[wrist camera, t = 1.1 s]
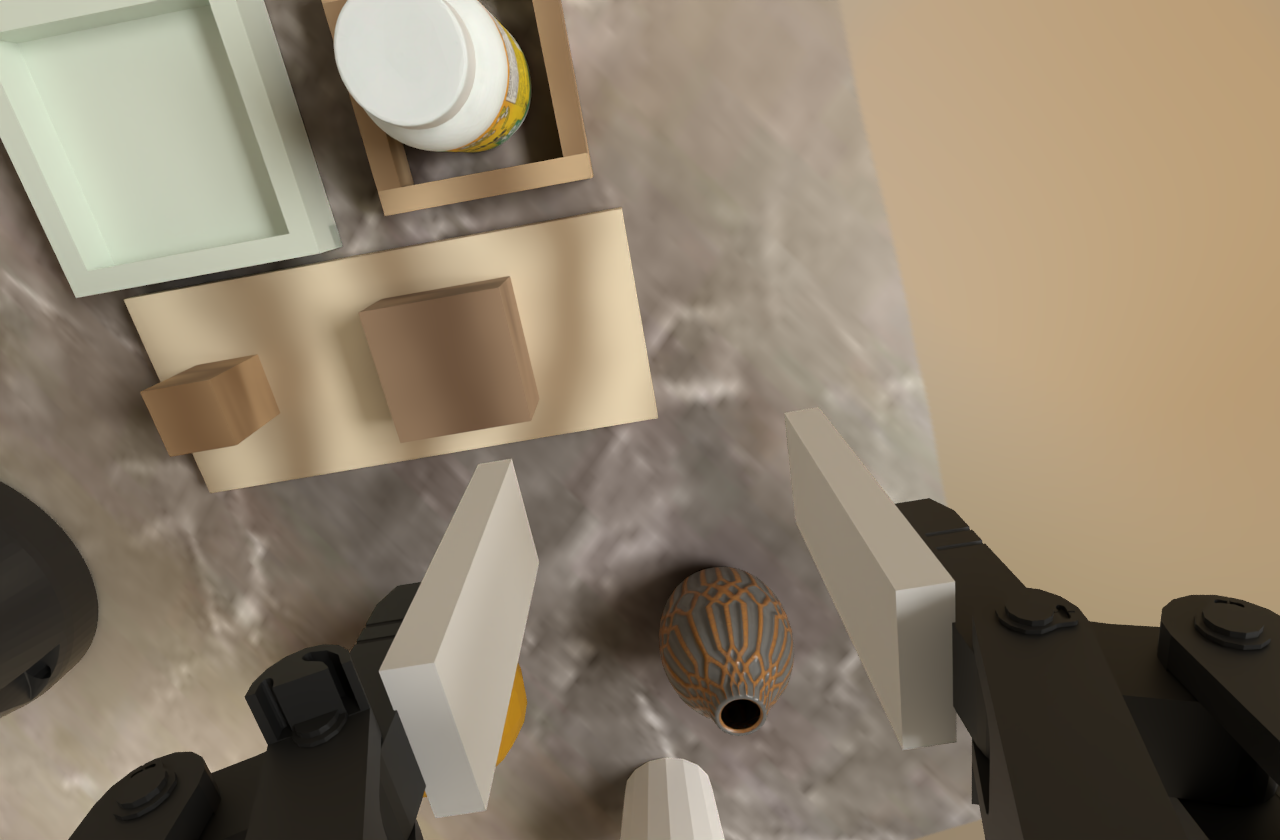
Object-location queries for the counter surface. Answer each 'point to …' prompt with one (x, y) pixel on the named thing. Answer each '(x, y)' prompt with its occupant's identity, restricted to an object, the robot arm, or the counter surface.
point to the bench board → (344, 367)
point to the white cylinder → (670, 803)
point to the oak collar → (573, 166)
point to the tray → (158, 138)
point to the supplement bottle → (434, 72)
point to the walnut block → (452, 359)
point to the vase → (727, 647)
